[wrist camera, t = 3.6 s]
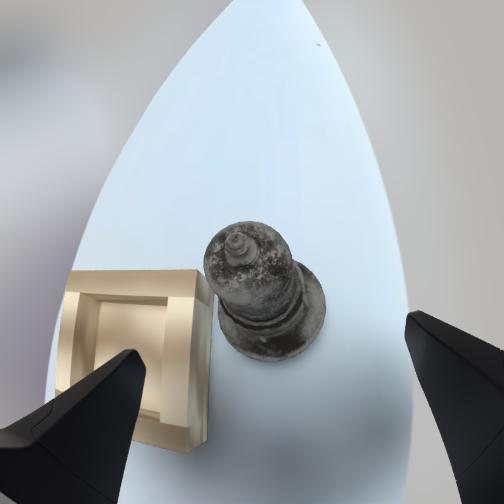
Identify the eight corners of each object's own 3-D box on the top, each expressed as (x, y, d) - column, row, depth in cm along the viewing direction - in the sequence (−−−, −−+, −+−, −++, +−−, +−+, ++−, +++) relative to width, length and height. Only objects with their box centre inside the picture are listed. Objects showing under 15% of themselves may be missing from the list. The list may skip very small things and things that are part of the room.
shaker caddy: (206, 440, 15) (186, 453, 12) (84, 408, 17) (55, 409, 14) (214, 286, 20) (197, 269, 17) (96, 284, 22) (70, 270, 18)
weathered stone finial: (267, 260, 20) (222, 130, 9) (338, 306, 18) (387, 208, 7) (215, 327, 19) (102, 264, 8) (285, 380, 16) (253, 405, 6)
